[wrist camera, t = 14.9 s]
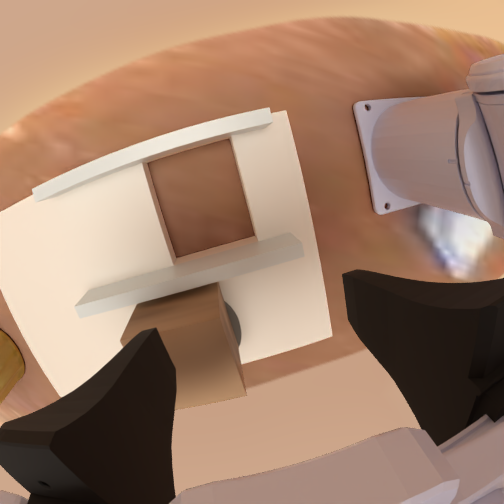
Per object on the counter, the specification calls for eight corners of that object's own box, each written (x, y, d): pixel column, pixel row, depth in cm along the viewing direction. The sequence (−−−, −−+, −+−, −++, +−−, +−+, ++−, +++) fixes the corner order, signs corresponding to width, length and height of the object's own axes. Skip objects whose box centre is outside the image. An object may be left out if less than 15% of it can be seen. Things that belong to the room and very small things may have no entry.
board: (280, 114, 18) (286, 110, 16) (325, 326, 22) (332, 336, 21) (-11, 221, 17) (-22, 225, 15) (66, 386, 21) (60, 396, 20)
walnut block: (238, 345, 20) (246, 395, 15) (167, 361, 19) (159, 412, 15) (217, 277, 18) (219, 317, 13) (139, 297, 18) (119, 340, 13)
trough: (261, 115, 16) (269, 107, 14) (292, 244, 19) (304, 256, 16) (51, 185, 16) (31, 189, 13) (92, 301, 18) (79, 318, 16)
